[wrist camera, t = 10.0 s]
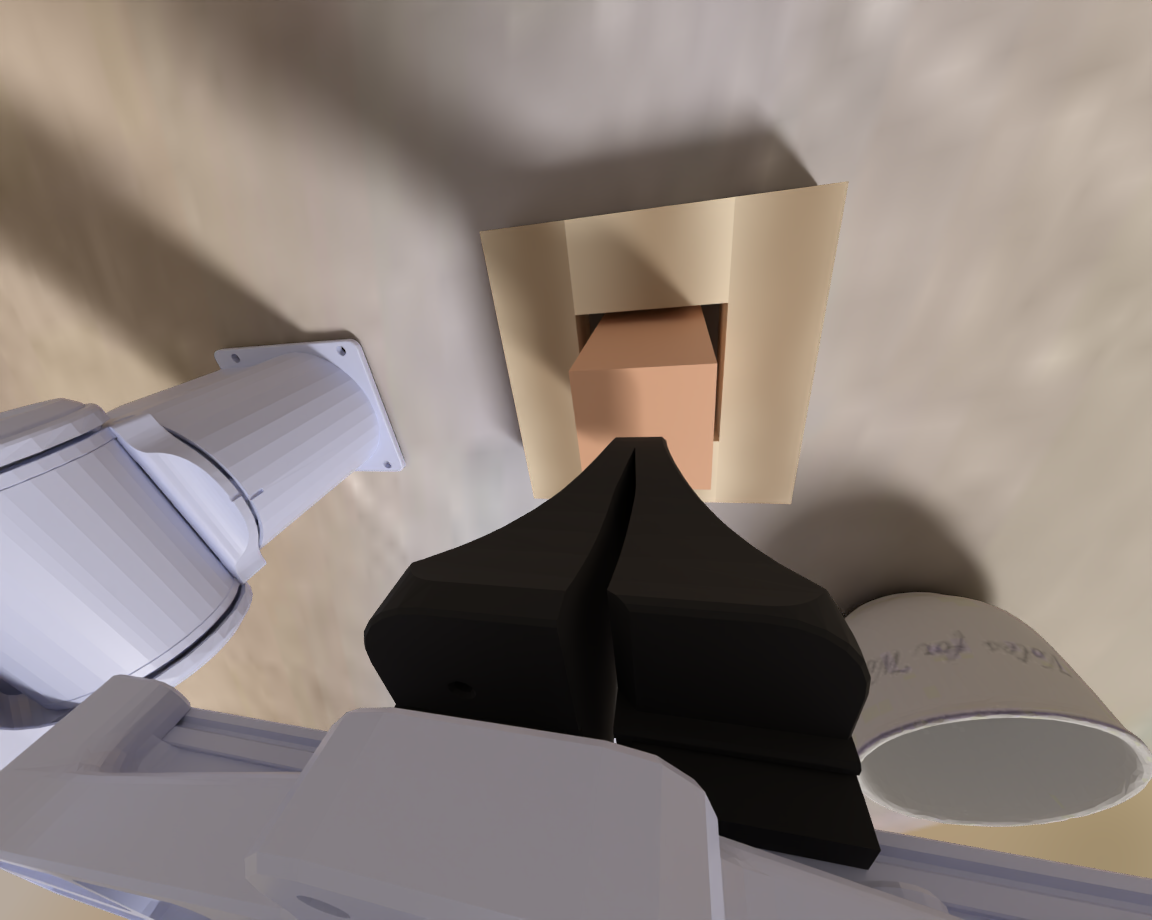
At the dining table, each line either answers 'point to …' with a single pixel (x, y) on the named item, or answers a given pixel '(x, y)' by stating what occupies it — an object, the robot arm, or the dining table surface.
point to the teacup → (982, 719)
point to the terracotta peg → (649, 386)
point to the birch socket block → (674, 279)
